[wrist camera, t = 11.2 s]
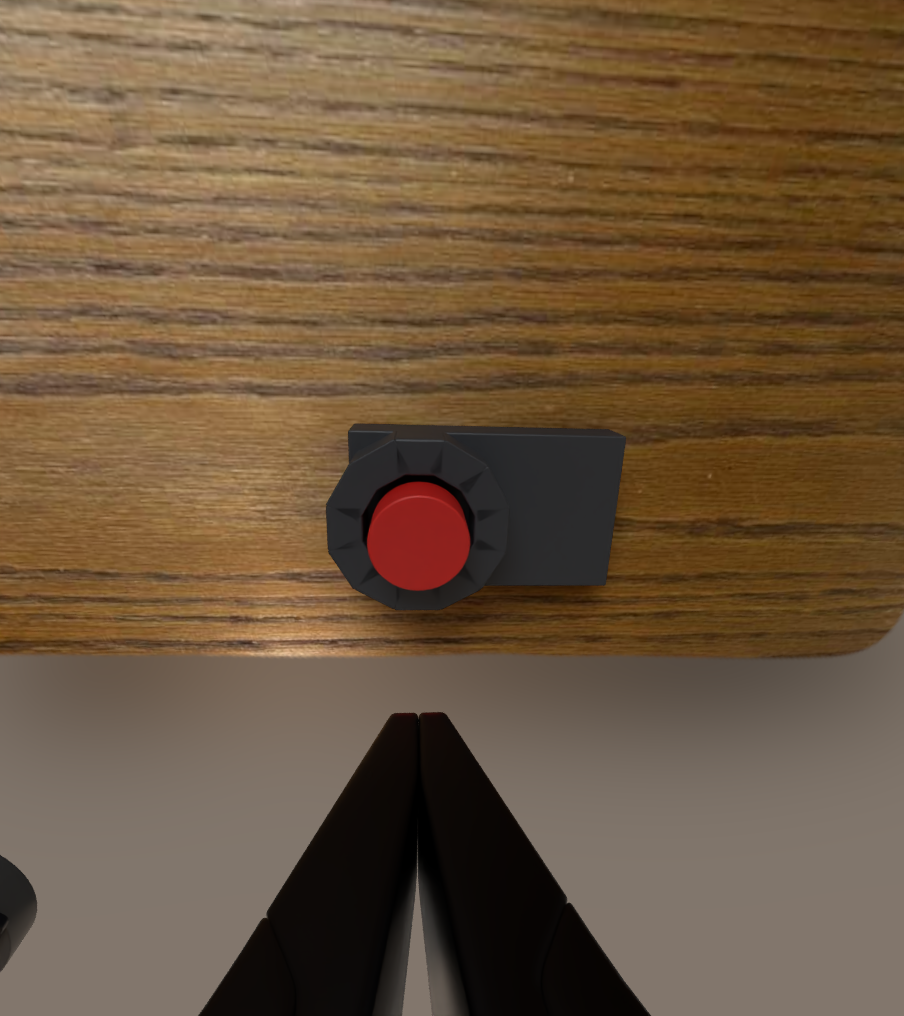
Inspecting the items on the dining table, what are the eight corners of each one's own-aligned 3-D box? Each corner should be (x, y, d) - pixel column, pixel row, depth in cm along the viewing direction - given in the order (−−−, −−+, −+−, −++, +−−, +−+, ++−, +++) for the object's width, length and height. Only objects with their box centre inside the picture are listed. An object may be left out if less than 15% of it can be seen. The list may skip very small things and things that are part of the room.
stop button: (372, 568, 17) (367, 591, 16) (371, 480, 16) (365, 494, 15) (463, 568, 18) (468, 591, 16) (467, 481, 17) (472, 496, 15)
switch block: (344, 568, 21) (330, 611, 17) (338, 421, 19) (322, 437, 15) (591, 569, 21) (623, 609, 18) (609, 427, 20) (649, 444, 16)
